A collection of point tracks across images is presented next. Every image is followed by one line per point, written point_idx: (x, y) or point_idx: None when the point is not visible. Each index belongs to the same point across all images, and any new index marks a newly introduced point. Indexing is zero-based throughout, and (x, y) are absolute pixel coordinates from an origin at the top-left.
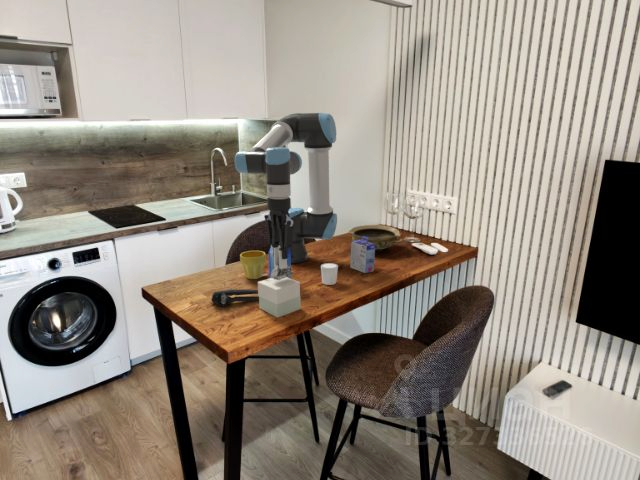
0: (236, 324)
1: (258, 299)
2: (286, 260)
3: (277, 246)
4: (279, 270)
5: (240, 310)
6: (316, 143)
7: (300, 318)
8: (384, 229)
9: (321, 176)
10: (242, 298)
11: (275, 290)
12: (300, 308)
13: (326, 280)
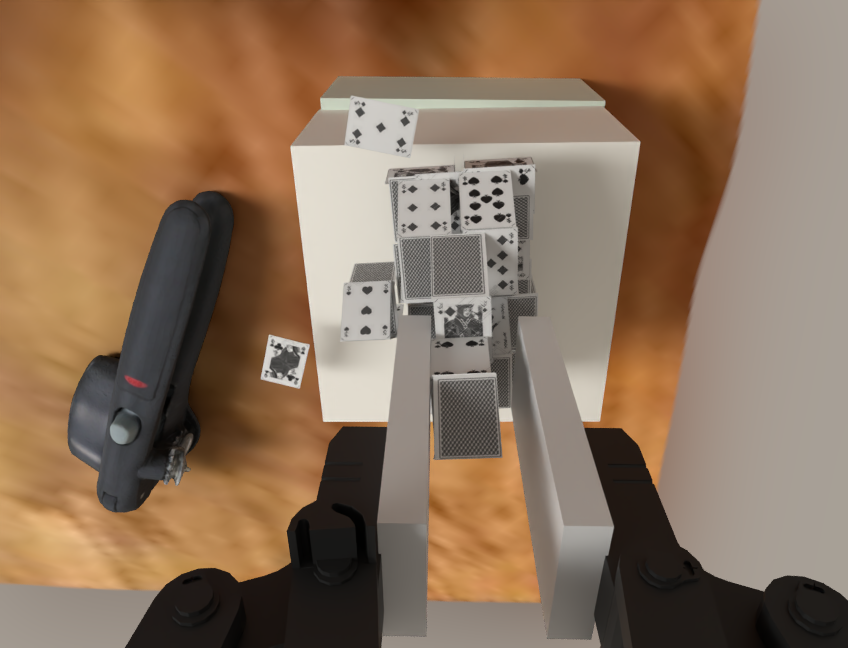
0: (447, 482)
1: (231, 231)
2: (567, 382)
3: (380, 579)
4: (501, 384)
5: (302, 386)
6: None
7: (692, 195)
8: None
9: None
10: (193, 339)
11: (583, 416)
12: (580, 80)
13: None
